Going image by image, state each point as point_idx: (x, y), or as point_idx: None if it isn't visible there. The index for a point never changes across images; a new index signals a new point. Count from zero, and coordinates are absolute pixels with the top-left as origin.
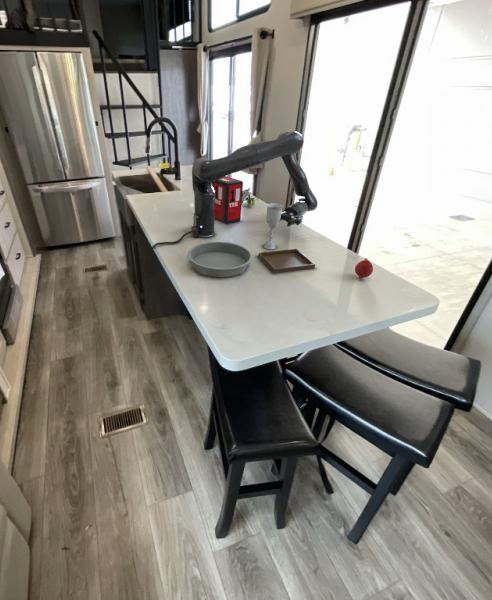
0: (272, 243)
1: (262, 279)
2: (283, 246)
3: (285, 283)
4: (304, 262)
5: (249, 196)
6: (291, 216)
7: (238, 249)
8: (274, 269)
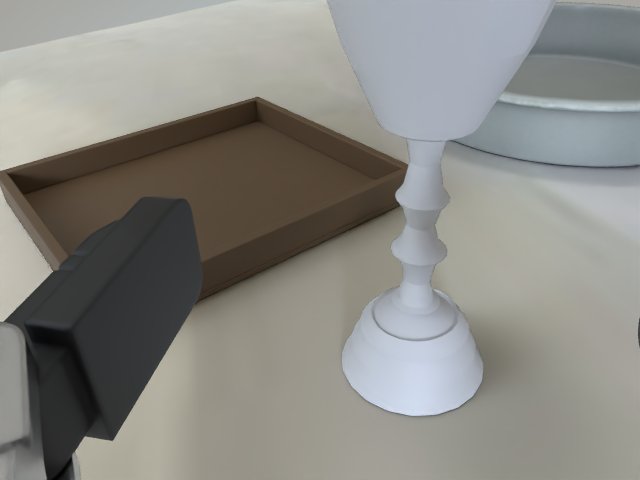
0: (376, 298)
1: (300, 91)
2: (253, 437)
3: (197, 97)
4: (61, 222)
5: None
6: (15, 443)
7: (555, 122)
8: (257, 98)
